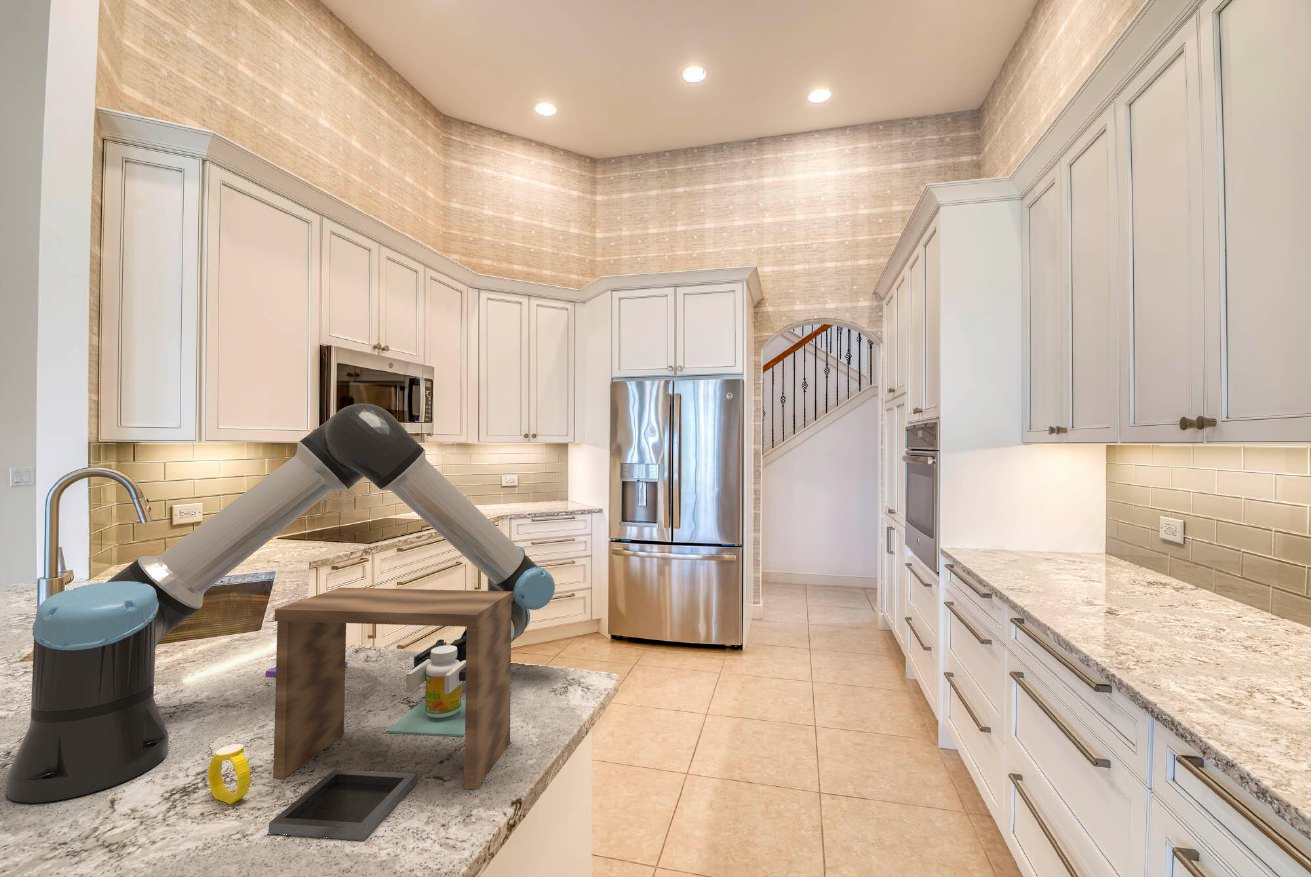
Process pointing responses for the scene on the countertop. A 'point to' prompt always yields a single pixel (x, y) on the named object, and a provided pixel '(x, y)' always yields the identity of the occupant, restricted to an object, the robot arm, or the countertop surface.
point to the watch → (241, 768)
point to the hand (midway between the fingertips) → (427, 683)
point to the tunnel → (319, 624)
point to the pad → (430, 723)
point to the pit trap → (344, 805)
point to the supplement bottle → (441, 683)
